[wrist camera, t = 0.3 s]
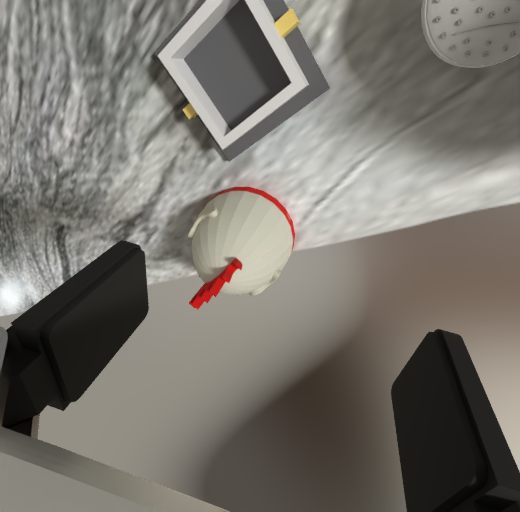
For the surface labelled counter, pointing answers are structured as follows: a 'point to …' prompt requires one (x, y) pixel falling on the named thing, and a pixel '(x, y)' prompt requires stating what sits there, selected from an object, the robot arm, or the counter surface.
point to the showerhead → (472, 30)
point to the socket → (241, 68)
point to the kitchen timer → (240, 243)
